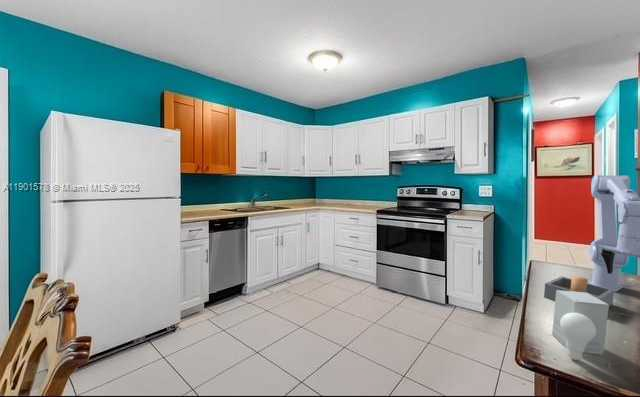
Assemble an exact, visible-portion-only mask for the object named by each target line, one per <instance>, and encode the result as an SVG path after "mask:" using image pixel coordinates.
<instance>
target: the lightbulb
mask: <svg viewBox="0 0 640 397" xmlns="http://www.w3.org/2000/svg"><path fill="white" fill-rule="evenodd" d="M560 326H561V328H562V331H563V333H564V334H565V337H566V345H567V348H566V350H567V352H566V353H567V356H568V357H569V358H571V359H572V360H573V361H579V360H582V358H583V354H584V353H583V352H584V350H585V347H586V345H587V343H588V342H589V341H591V340H592V339H593V338H594V337H595V335H596V328H595V325H594V323H593V322H592V321H591V320H590V319H589V318H588V317H586V316H584V315H582V314H580V313H567V314H565V315H564V316H563V317H562V318H561V320H560Z"/></svg>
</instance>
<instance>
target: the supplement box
mask: <svg viewBox="0 0 640 397" xmlns="http://www.w3.org/2000/svg"><path fill="white" fill-rule="evenodd" d="M609 308H610V307H609V305H608V304H607V303H605V302H603V301H601V300H599V299H597V298H596V297H594V296H592V295H590V294H589V293H585V292H574V291H560V290H556V299H555V301H554V310H553V320H552V321H553V322H552V331H551V336H553V337H554V338H555V339H556V340H557V341H558V342H560V344H562V346H564V348H566V349H567V345H566V337H565V334H564V333H563V331H562V328H561V326H560V320H561V318H562V317H563V316H564V315H565V314H567V313H580V314H582V315H584V316H586V317H588V318H589V319H590V320H591V321H592V322H593V323H594V325H595V328H596V335H595V337H594V338H593V339H592V340H591V341H589V342H588V343H587V345H586V347H585V350H584V352H583V354H592V355H593V354H594V355H604V352H605V343H606V335H607V325H608V314H609Z"/></svg>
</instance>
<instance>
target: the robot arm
mask: <svg viewBox="0 0 640 397" xmlns="http://www.w3.org/2000/svg"><path fill="white" fill-rule="evenodd" d="M590 187H591V189H590V190H591V191H590V192H591V196H592V197H593V198H595V199H596V200H597V201H596V202H597V206H598V208H597V210H598V236H599V238H598V239H596V240H593V241H591V243H590V245H589V252H588V256H589V260H590V261H591V262H593V271H592V277H591V278H592V280H591V281H590V282H588V283H589V284H593V285H596V286H600V287H604V288H608V289H612V290H614V293H616V292H618V291H619V290H621V289H623V288H624V285H621V277H622V269H621V268H624V266H626V265H628V263H629V261H630V257H634V258H638V259H639V258H640V196H639V195H638V193H636V192H635V190H633V189H631V188H630V187H631V178H630V176H628V175H627V174H626V175H625V174H624V175H606V174H605V175H603V174H602V175H599V174H595V175H594V176H592V179H591V184H590ZM616 204H617V214H618V219H617V218H616V217H617V216H616ZM616 219H617V220H618V222H619V227H618V233H617V220H616Z"/></svg>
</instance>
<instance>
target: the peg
mask: <svg viewBox="0 0 640 397" xmlns="http://www.w3.org/2000/svg"><path fill="white" fill-rule="evenodd" d="M571 279H572V281H571V290H573V291H576V292H585V293H586V292H587V283H589V282H588V281H589V280H588V278H586V277H582V276H577V275H572V276H571Z"/></svg>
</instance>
